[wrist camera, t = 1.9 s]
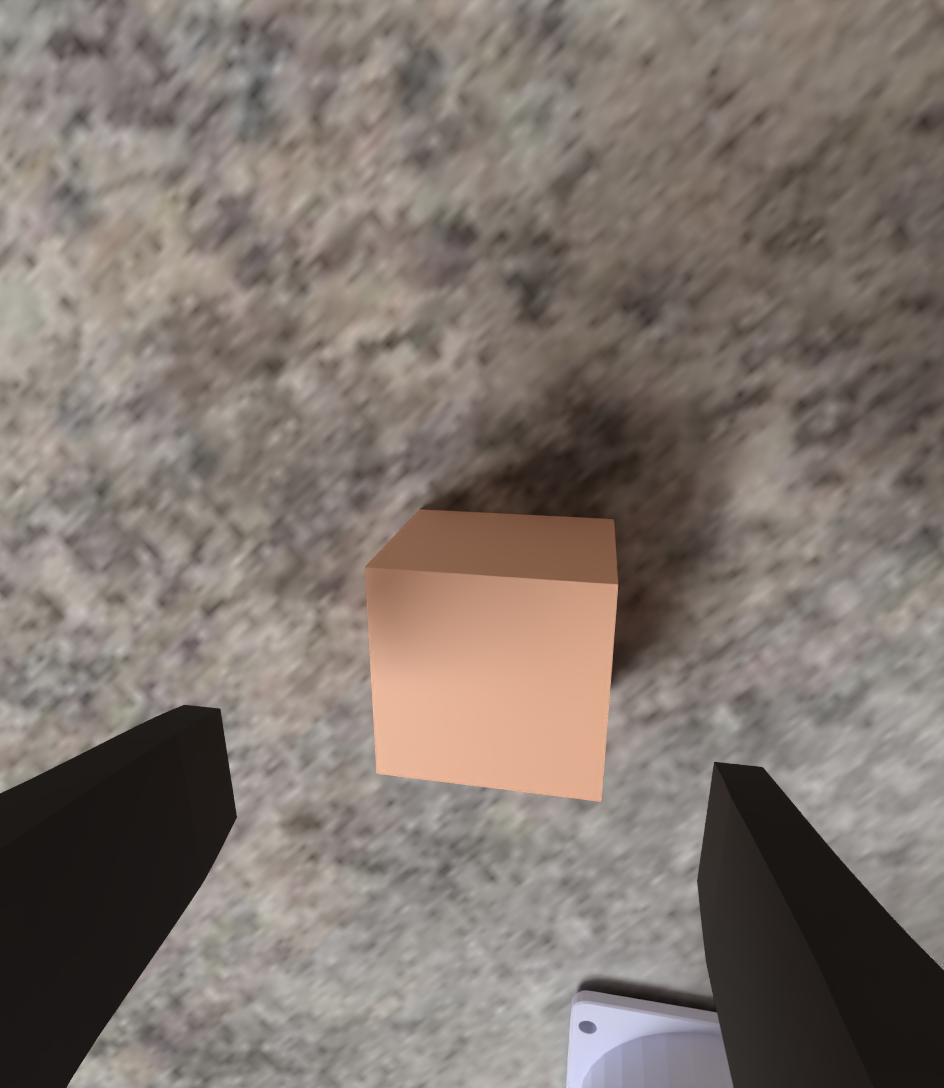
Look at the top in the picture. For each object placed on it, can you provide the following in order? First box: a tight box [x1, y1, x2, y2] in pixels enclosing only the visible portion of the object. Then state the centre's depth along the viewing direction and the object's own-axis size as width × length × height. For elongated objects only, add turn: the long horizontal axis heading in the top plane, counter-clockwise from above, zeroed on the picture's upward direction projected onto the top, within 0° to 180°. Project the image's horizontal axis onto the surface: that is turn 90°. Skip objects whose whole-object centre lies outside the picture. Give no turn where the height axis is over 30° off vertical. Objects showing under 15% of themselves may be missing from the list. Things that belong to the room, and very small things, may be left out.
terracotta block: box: [365, 509, 618, 802], centre depth 14 cm, size 4×4×4 cm
